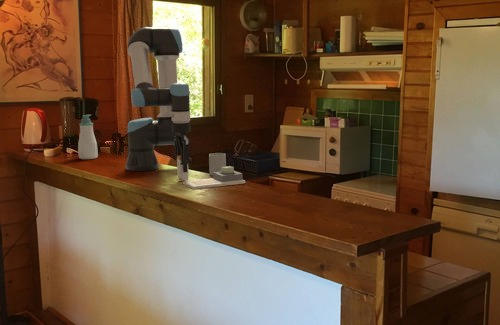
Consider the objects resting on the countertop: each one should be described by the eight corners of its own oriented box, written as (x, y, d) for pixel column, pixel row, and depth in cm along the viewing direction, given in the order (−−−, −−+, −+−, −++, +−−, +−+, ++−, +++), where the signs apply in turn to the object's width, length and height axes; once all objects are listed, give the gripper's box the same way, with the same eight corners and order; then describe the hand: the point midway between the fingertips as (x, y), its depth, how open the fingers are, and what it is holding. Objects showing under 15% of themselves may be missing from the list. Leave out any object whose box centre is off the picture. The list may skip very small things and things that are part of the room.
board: (182, 183, 226) (182, 175, 225) (232, 178, 236) (232, 170, 235) (193, 189, 215) (193, 180, 215) (245, 183, 225) (245, 174, 224)
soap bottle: (101, 157, 302) (99, 114, 299) (89, 160, 294) (86, 116, 290) (87, 156, 306) (84, 114, 303) (74, 159, 298) (71, 115, 294)
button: (219, 174, 230) (219, 167, 229) (230, 173, 232) (230, 165, 232) (224, 176, 225) (224, 168, 225) (235, 175, 228) (235, 167, 227)
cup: (214, 176, 240) (214, 156, 239) (203, 173, 248) (202, 153, 247) (229, 174, 244) (228, 154, 243) (217, 171, 252) (217, 151, 251)
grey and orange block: (177, 179, 232) (176, 155, 231) (185, 178, 234) (184, 154, 232) (180, 181, 229) (179, 156, 228) (188, 180, 231) (187, 156, 229)
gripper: (165, 120, 233) (168, 176, 237) (178, 124, 219) (181, 183, 223) (182, 119, 236) (184, 174, 240) (197, 123, 222) (198, 181, 226)
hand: (183, 178), depth 232 cm, fingers closed on grey and orange block, 3 cm apart
